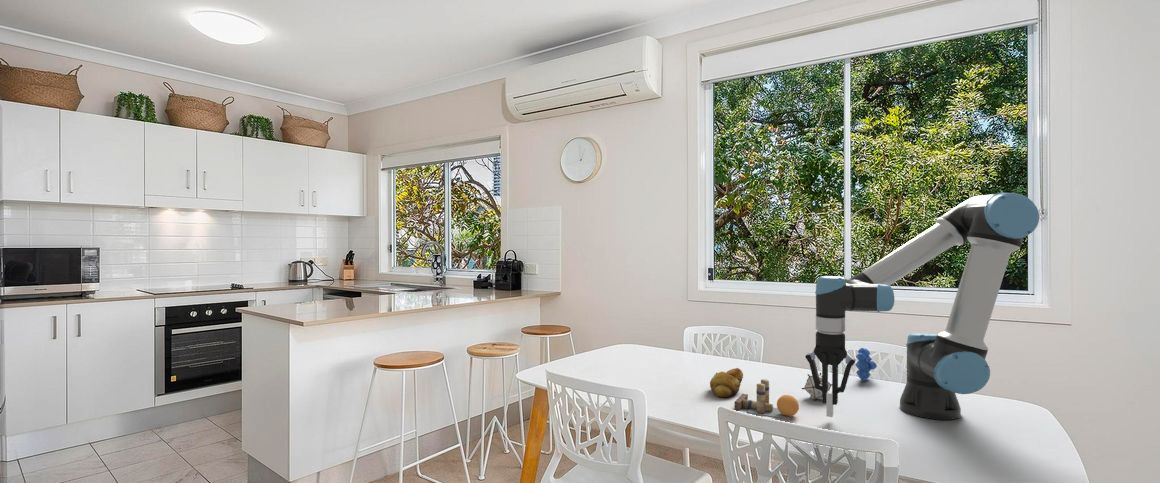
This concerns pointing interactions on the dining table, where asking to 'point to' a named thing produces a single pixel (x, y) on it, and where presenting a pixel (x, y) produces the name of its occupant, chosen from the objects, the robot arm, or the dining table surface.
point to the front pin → (753, 405)
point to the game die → (811, 387)
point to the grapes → (864, 364)
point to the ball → (787, 405)
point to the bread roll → (726, 382)
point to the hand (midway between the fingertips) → (829, 415)
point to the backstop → (740, 401)
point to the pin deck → (770, 413)
